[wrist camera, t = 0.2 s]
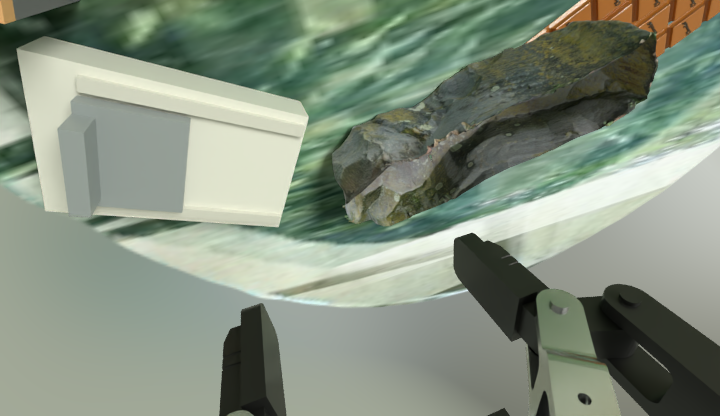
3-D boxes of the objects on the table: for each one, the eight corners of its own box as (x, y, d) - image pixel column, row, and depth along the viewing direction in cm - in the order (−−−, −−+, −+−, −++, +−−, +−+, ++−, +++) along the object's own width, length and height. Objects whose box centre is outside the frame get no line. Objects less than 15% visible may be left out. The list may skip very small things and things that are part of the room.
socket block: (44, 35, 22) (12, 50, 18) (300, 101, 30) (309, 119, 27) (64, 183, 28) (42, 215, 24) (273, 204, 36) (279, 230, 33)
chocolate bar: (728, -2, 41) (741, -1, 40) (526, 145, 44) (533, 150, 43) (764, -148, 31) (783, -151, 30) (502, 56, 35) (511, 59, 34)
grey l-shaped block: (76, 95, 21) (55, 115, 18) (190, 117, 24) (186, 138, 21) (86, 195, 25) (70, 225, 22) (183, 204, 28) (179, 231, 25)
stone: (343, 178, 44) (562, 114, 42) (356, 241, 38) (610, 171, 36) (296, 67, 30) (623, -38, 28) (306, 140, 24) (718, 16, 22)
